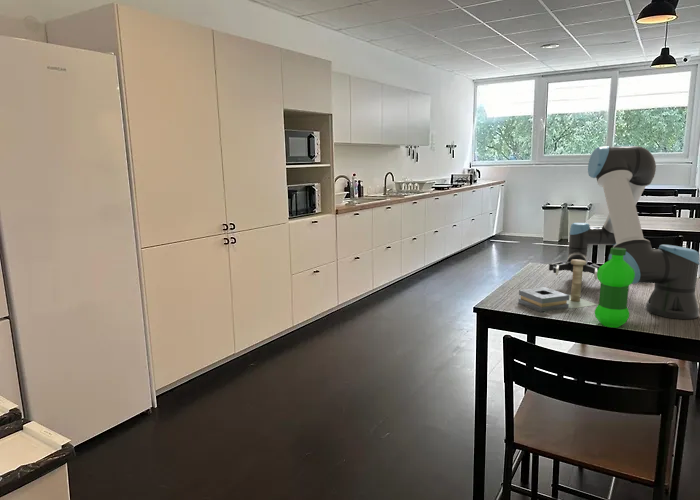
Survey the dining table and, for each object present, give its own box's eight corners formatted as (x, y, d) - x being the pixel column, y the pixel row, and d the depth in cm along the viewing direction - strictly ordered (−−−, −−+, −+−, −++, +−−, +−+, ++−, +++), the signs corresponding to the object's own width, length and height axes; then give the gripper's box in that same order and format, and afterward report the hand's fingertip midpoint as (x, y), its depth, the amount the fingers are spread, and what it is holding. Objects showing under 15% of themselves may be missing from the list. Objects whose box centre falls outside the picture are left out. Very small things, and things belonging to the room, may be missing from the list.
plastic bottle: (617, 319, 161) (625, 245, 156) (635, 330, 150) (644, 251, 146) (587, 319, 161) (594, 245, 156) (602, 330, 151) (610, 251, 146)
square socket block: (568, 308, 172) (569, 295, 171) (541, 312, 168) (542, 298, 167) (544, 299, 183) (545, 286, 182) (518, 303, 179) (519, 290, 178)
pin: (585, 301, 179) (589, 261, 176) (575, 303, 178) (578, 262, 175) (575, 298, 184) (578, 259, 181) (564, 299, 182) (568, 260, 179)
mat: (598, 305, 176) (598, 304, 176) (572, 309, 172) (572, 308, 172) (569, 295, 189) (569, 294, 189) (544, 298, 185) (544, 297, 185)
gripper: (609, 274, 199) (612, 286, 180) (544, 268, 210) (540, 279, 191) (611, 256, 198) (614, 267, 179) (545, 251, 208) (542, 261, 190)
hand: (576, 273), depth 185 cm, fingers open, 13 cm apart
